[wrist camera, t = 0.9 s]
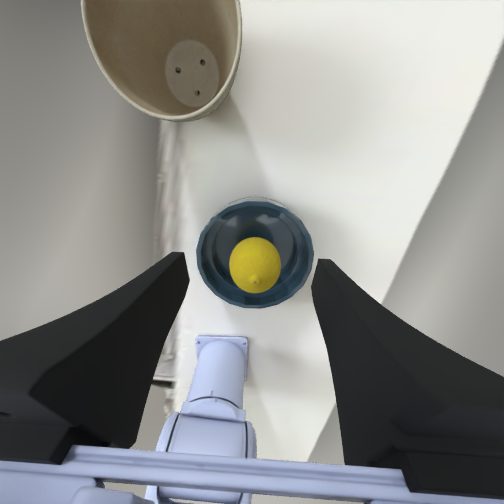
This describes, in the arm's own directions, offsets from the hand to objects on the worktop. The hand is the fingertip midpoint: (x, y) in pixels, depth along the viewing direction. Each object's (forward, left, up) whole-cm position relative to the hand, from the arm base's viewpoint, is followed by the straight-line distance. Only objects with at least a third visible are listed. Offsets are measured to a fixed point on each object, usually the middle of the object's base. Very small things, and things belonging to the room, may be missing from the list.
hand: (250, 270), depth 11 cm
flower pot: (+13, +6, -14) cm, 21 cm away
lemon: (-4, -1, -14) cm, 15 cm away
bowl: (-4, -1, -14) cm, 15 cm away
